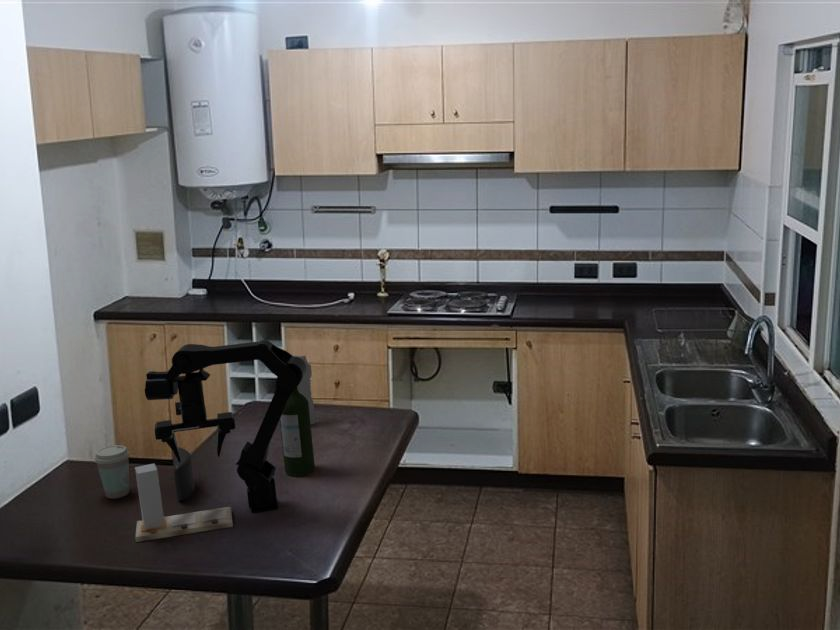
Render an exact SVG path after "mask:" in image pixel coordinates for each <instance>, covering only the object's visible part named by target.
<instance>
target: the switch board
mask: <svg viewBox="0 0 840 630" xmlns="http://www.w3.org/2000/svg"><path fill="white" fill-rule="evenodd" d="M164 522H165V526H161V527H157V528H152V529H148V530H145V528H144V525H143V521H142V520H137V521H136V529H135V537H134V538H135V542H136V543H139V542H145V541H151V540H157V539H165V538H170V537H171V538H172V537H176V536H181V535H189V534H196V533H200V532H208V531H214V530H220V529H226V528H233V527H234V524H233V513H232V506H226V507H219V508H211V509H206V510H200V511H193V512H187V513H181V514H174V515H169V516H164Z"/></svg>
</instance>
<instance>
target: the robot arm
mask: <svg viewBox="0 0 840 630" xmlns="http://www.w3.org/2000/svg"><path fill="white" fill-rule="evenodd" d="M296 356H297V355H292V354H291V353H290V352H288V351H287V350H285V349H283V348H281V347H279V346H277V345H275V344H274V343H272V342H271V341H269V340H267V339H261V340H259V341H253V342H252V341H251V342H243V343H236V344H235V343H234V344H226V345H225V344H224V345H218V346H209V345H205V344H193V343H186V344H184V345H183V346H181V347H180V348H179V349H177V351H176V352H175V353H174V354H173V355H172V358H171V364H172V365H171V367H170V368H169V370H167V371H166V370H165V371H153V370H151V371H148V372H147V373H146V374H145V376H146V380H145V386H144V387H145V388H144V395H145V398H146V399H147V400H148V401H157V400H158V401H160V400H162V401H163V400H173V398H175V397H174V396H176V395H178V396H179V397H178V398H179V401H178V402H174V407H175V415H176V416H181V422H180V423H179V422H178V423H173V422H172V419H170V420H169V419H168V420H160V421H156V423H155V424H154V435H155V436H154V437H155V440H157V441H159V440H161V442H162V443H166V444H167V445H168V446H169V448H170V449H171V451H172V453H173V452H174V454H175V456H176V458H177V459H178V461H179V462H181V458H180V453H179V449H178V447H179V445H178V441H177V438H176V433H177V432H183V431H184V432H185V431H192V430H199V429H206V428H213V427H216V428H217V429H216V435H217V436H216V438H217V439H216V440H217V441H216V452H217V457H220V456H221V452H222V451H221V450H222V447H223V443H224V441H225V438H226V435H228V434H230V433H231V430H236V422H235V421H236V420H235V414H234V413H233V412H232V411H228V412H219V413H217V414H216V415H217V418H216V417H215V418H209V419H208V418H207V417H208V416H207V407H206V403H205V396H204V386H203V381H207V380H208V379H209V378H210V377H211V373H209V372H208V371H206V370H204V369H206V368H208V367H211V366H217V365H223V364H232V363H233V364H234V363H242V362H249V361H260V362H261V363H262V364H263V365H265V367H266V368H267V369H268V370H269V371H270V372H271V373H272V374H273V375H274V376H276V381H275V387H274V394H273V396H272V398H271V400H270V403H269V406H268V408H267V410H266V412H265V415H264V417H263V419H262V422H261V424H260V426H259V428H258V431H257V434H256V436H255V438H254V441H253V442H252V443H251V442H250V441H248V440H247V441H246V443H245V444H244V446H243V448H242V449H241V453H240V456H239V458H238V460H237V461H236V462H235V465H236V466H237V467H236V473H237V474H238V477H239V478H240V479H241V480H243V481H244V483H245V485H246V487H247V488H246V497H247V505H248V508H249V509H250V510H251V511H250V512H251V513H258V512H264V511H271V510H277V509H279V504H278V500H277V489H276V488H277V487H276V482H275V478H274V476H275V474H276V473H275V472H276V470H277V469H276V466H274V465H273V464H272V463H271V462H270V461H268V454H269V448H270V443H271V441H272V439H273V437H274V434H275V431H276V430H277V427H278V425H279V424H280V418H281V416H282V414H283V411H284V409H285V407H286V404H287V402H288V400H289V398H290V396H291V395H292V394H293V392H294V391H295V389H296V388H297V386H298V385H299V383H300V382H301V380H302V378H303V376H304V375H305V373H306V369H307V366H306V364H305V362H304V361H303V360H302V359H301V358H299V357H296Z"/></svg>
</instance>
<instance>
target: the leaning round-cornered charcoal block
mask: <svg viewBox="0 0 840 630" xmlns="http://www.w3.org/2000/svg"><path fill="white" fill-rule="evenodd" d="M178 449H179V453H180V458H181V462H179V461H178V459H177V458H176V456H175V454H174V452H173V451H172V459H173V460H172V463H173V465H172V466H173V476H174V482H175V491H176V497H177V500H178V501H186V500H187V499H189V498H190V497H191V495H192V494H193V492H194V491H195V489H196V487H195V486H196V485H195V477H194V476H195V475H194V470H193V461H192V457H191V456H192V455H191V454H190V452H189V451H188V450H186V449H185V448H183V447H179V446H178Z"/></svg>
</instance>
